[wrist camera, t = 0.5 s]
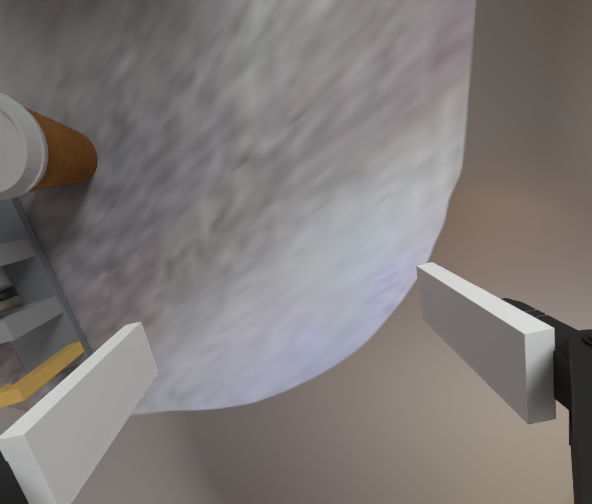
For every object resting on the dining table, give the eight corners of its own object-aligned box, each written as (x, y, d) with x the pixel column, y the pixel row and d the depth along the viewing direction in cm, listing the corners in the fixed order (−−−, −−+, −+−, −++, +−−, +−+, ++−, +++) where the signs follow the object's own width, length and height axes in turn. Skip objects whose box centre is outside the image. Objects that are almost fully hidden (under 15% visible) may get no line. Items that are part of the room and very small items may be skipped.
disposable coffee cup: (103, 113, 37) (18, 79, 25) (117, 193, 39) (44, 197, 27) (22, 117, 37) (-101, 85, 25) (41, 198, 39) (-65, 203, 27)
